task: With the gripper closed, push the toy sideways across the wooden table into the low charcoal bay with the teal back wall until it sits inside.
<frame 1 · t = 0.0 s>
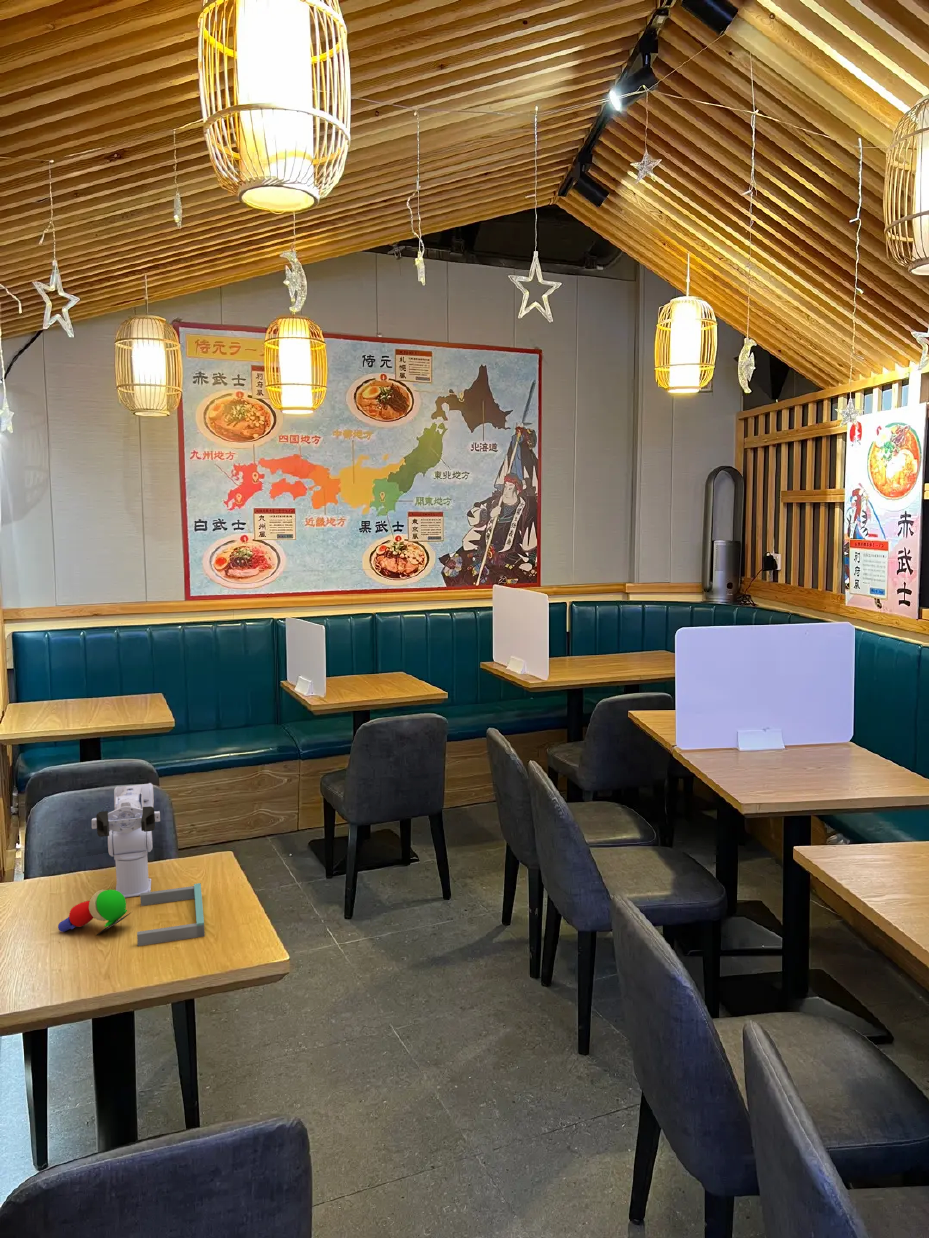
hand: (124, 828, 198), 22 cm above the table, tool horizontal, fingers open, 7 cm apart
toy: (95, 930, 197), on the table
bay: (167, 919, 202), on the table
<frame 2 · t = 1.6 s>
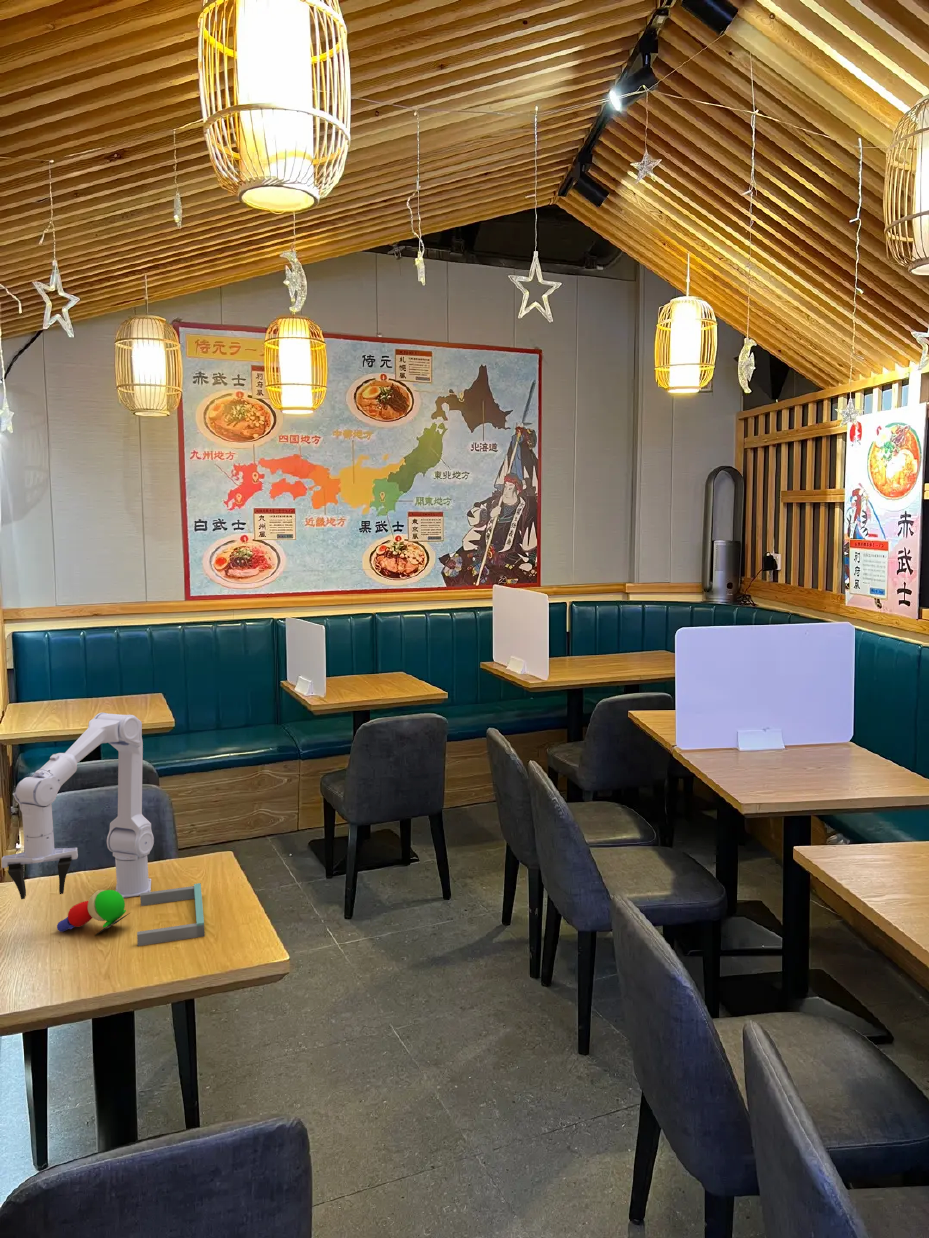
hand: (42, 894, 193), 9 cm above the table, tool pointing down, fingers open, 7 cm apart
nothing on the table moved.
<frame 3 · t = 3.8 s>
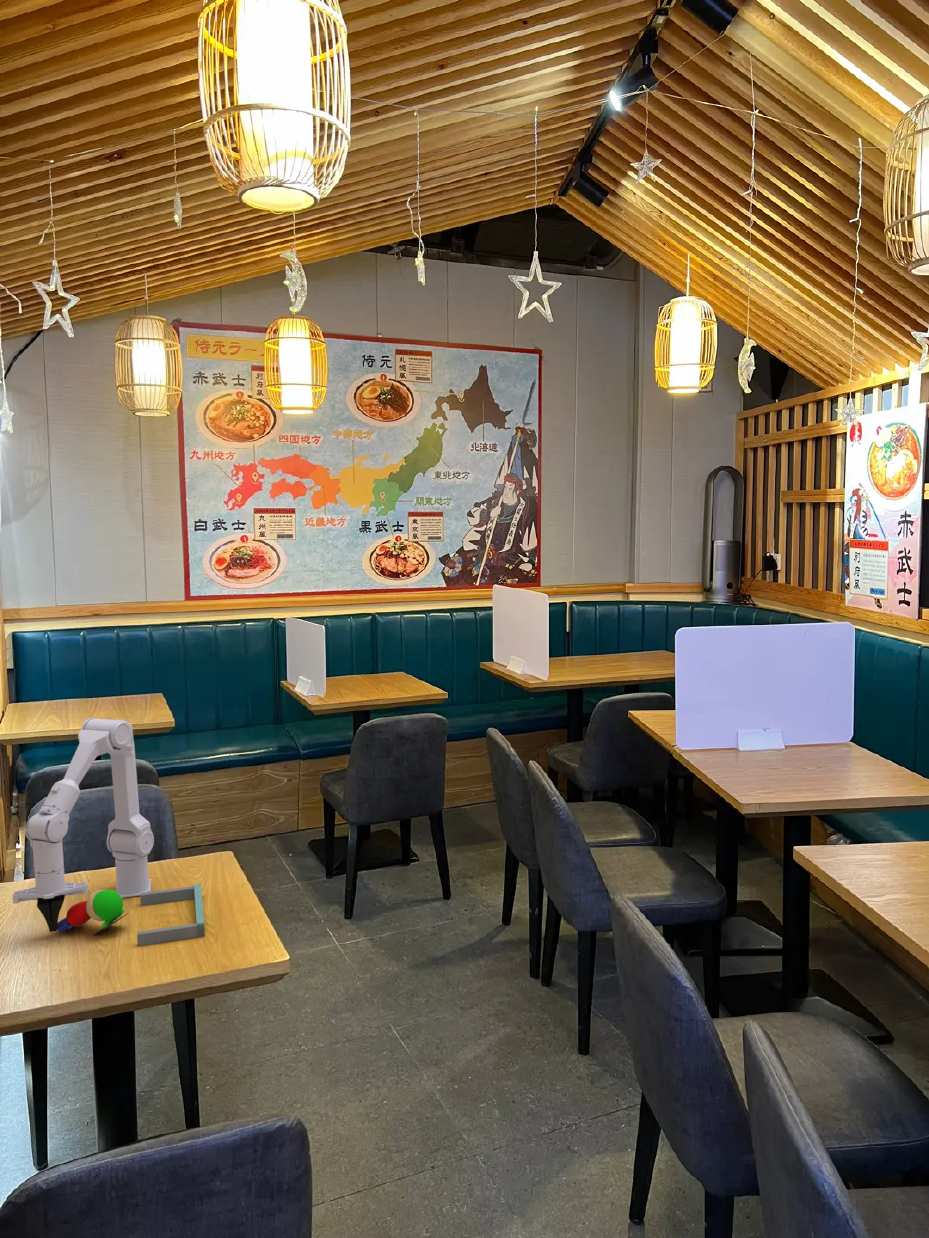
hand: (53, 929, 194), 1 cm above the table, tool pointing down, fingers closed
toy: (92, 931, 197), on the table, touching gripper
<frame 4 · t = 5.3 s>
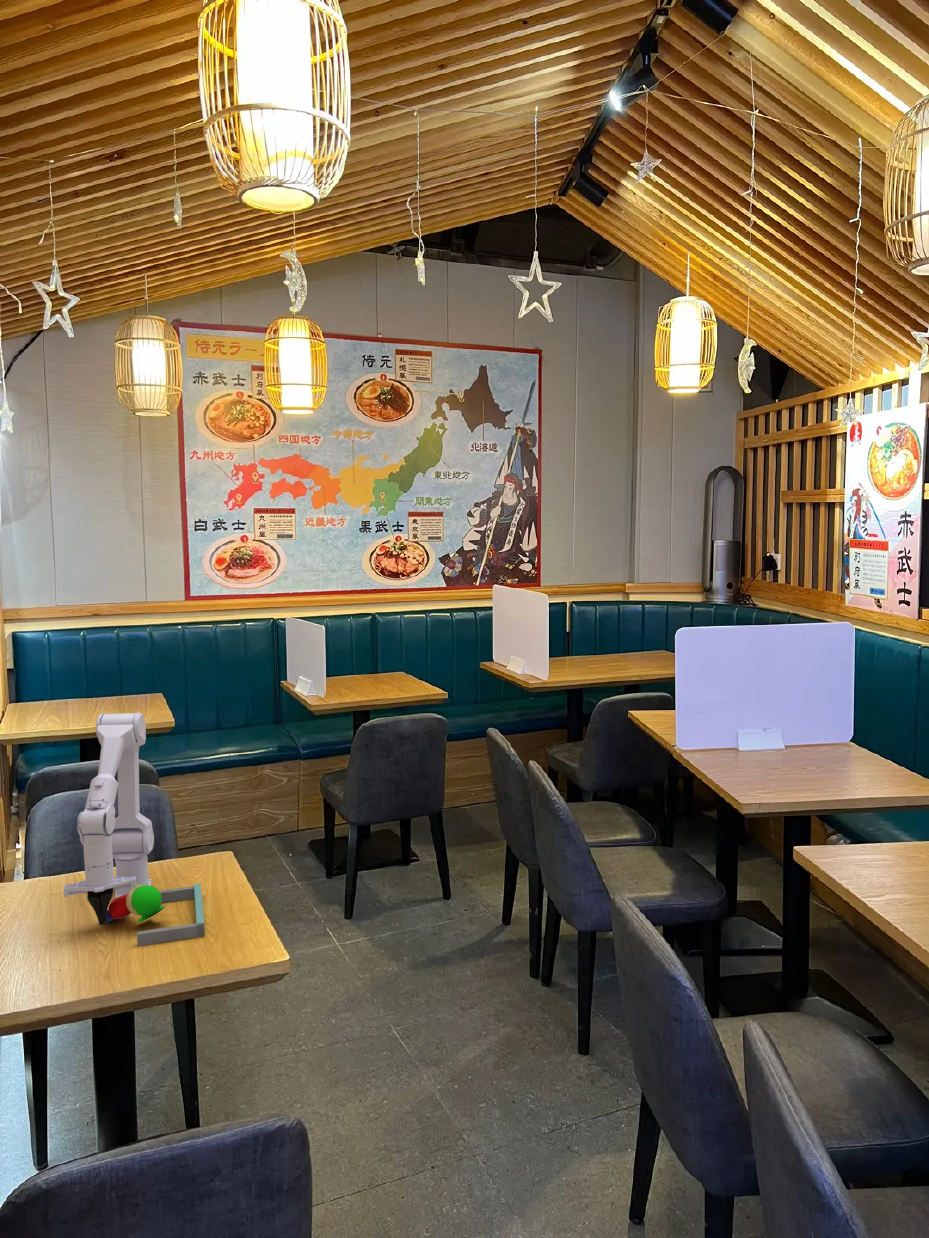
hand: (102, 922, 197), 1 cm above the table, tool pointing down, fingers closed
toy: (133, 924, 200), on the table, touching gripper
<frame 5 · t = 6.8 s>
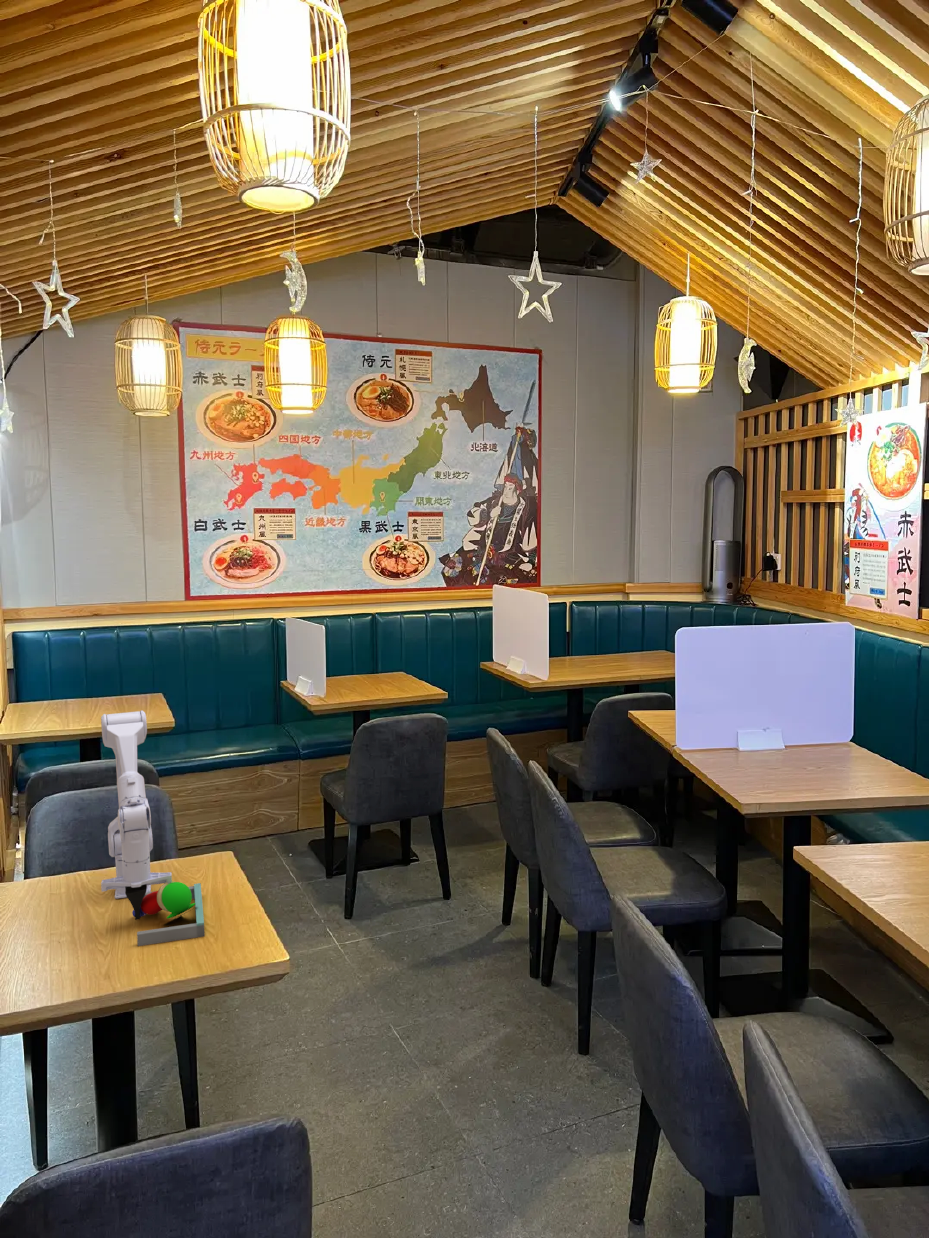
hand: (138, 917, 200), 1 cm above the table, tool pointing down, fingers closed, pressing on toy
toy: (165, 920, 202), on the table, touching bay, gripper
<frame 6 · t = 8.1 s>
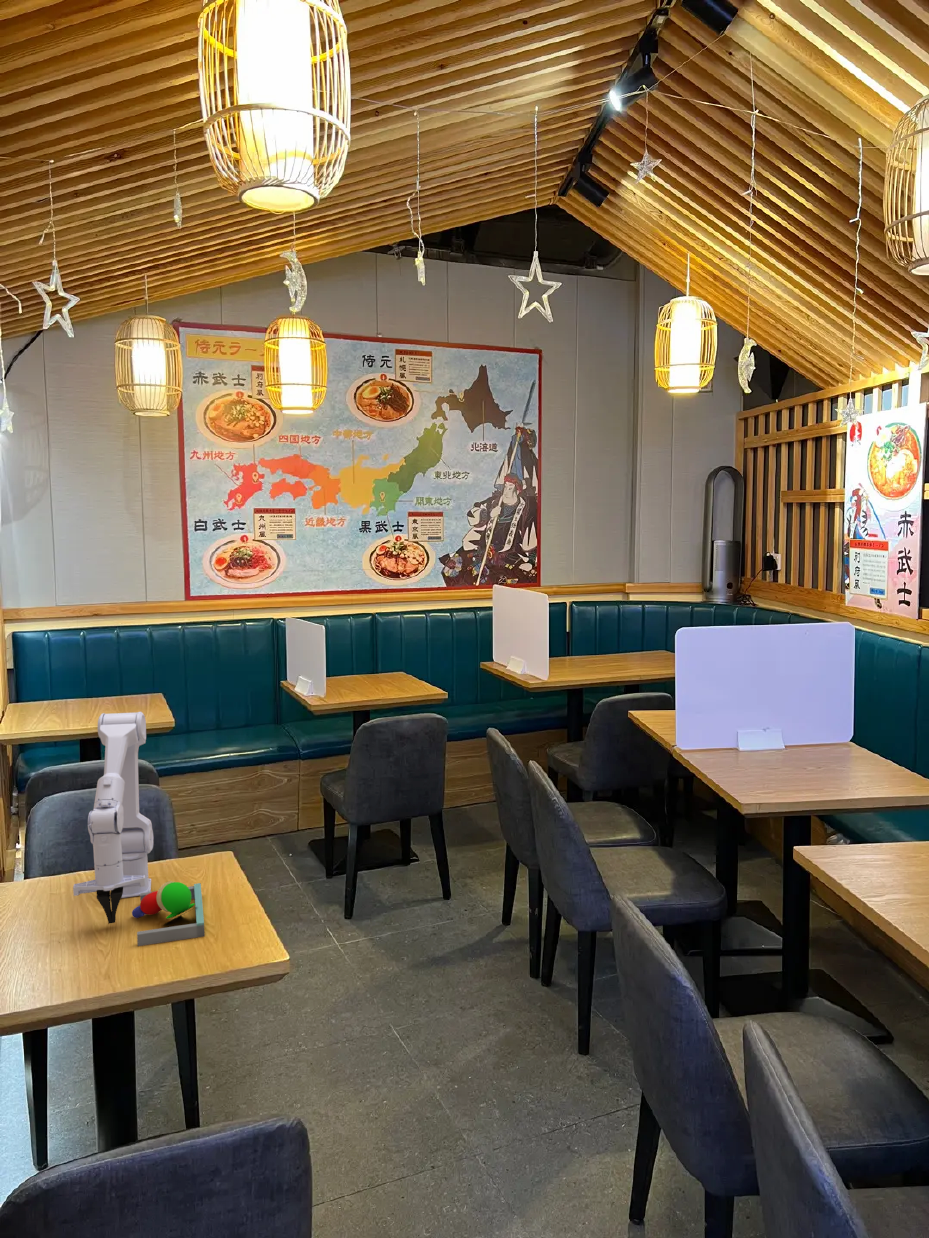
hand: (111, 921, 198), 1 cm above the table, tool pointing down, fingers closed
toy: (164, 920, 202), on the table
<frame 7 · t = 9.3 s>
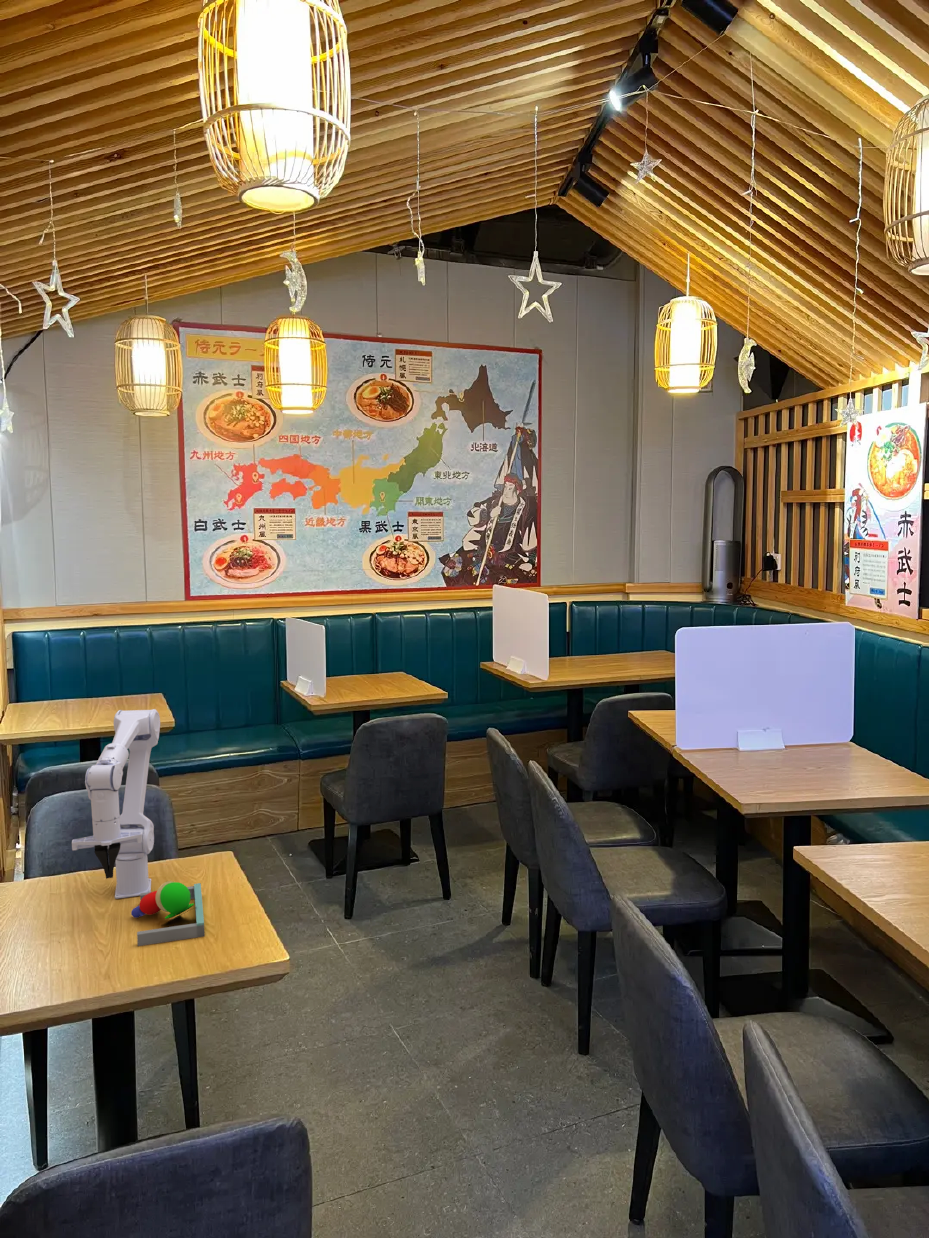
hand: (109, 876, 203), 9 cm above the table, tool pointing down, fingers closed
nothing on the table moved.
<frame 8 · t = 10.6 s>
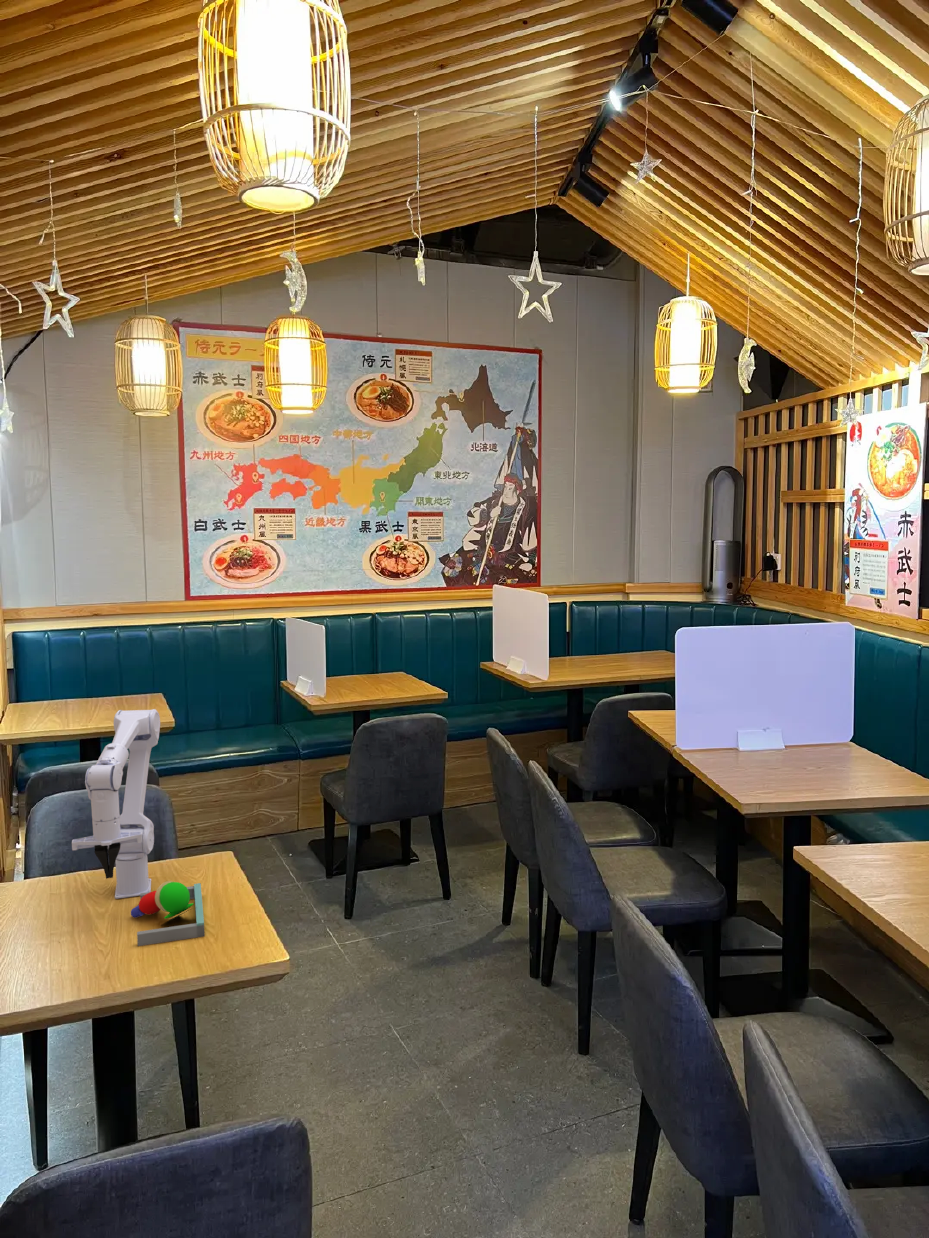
hand: (109, 876, 203), 9 cm above the table, tool pointing down, fingers closed
nothing on the table moved.
at the end: toy inside the target area on the bay (2.3 cm from its centre), point 0.0 cm above the bay's base; toy tilted 0°; toy moved 14.0 cm from its start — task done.
